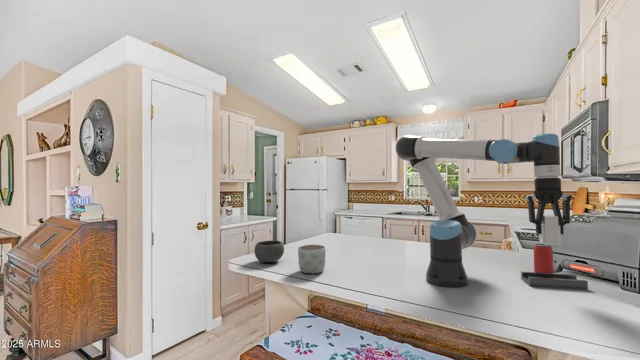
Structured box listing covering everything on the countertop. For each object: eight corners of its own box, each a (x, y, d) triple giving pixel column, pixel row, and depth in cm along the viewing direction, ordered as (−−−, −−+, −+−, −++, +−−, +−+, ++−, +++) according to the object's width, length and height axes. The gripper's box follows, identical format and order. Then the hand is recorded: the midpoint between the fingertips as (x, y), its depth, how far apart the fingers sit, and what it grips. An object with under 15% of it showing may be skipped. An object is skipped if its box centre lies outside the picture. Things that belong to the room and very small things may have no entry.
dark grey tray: (529, 286, 111) (529, 277, 111) (521, 278, 119) (520, 271, 120) (587, 289, 106) (587, 281, 107) (574, 282, 115) (574, 274, 115)
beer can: (556, 275, 123) (556, 246, 123) (538, 275, 124) (538, 246, 124) (548, 271, 129) (547, 243, 129) (531, 270, 131) (530, 243, 131)
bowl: (249, 265, 145) (249, 245, 146) (260, 258, 160) (260, 239, 160) (279, 266, 143) (278, 245, 143) (287, 258, 158) (287, 240, 158)
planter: (320, 276, 126) (320, 251, 126) (293, 274, 130) (293, 249, 130) (329, 268, 138) (328, 245, 138) (304, 266, 142) (304, 243, 142)
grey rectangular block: (545, 245, 105) (544, 216, 105) (540, 242, 108) (539, 215, 109) (559, 245, 103) (558, 216, 104) (554, 243, 107) (552, 215, 107)
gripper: (523, 178, 105) (526, 244, 105) (581, 176, 100) (585, 246, 100) (516, 178, 113) (518, 240, 112) (570, 177, 108) (573, 242, 107)
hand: (550, 243), depth 106 cm, fingers closed on grey rectangular block, 4 cm apart
